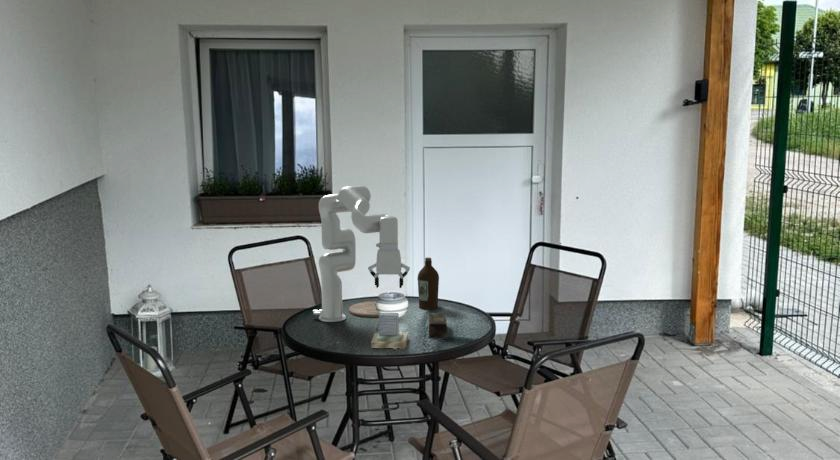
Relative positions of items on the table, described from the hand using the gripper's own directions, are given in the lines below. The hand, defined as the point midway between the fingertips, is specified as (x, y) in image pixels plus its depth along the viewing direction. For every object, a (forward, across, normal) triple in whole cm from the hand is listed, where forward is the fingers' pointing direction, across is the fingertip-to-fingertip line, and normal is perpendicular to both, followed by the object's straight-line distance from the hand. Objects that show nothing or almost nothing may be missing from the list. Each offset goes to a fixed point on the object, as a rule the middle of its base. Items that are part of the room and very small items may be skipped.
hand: (389, 287), depth 304 cm
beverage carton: (+25, +19, +19) cm, 37 cm away
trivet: (+25, -13, +53) cm, 60 cm away
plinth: (+24, 0, 0) cm, 24 cm away
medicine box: (+20, 0, 0) cm, 20 cm away
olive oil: (+24, +13, +61) cm, 67 cm away
